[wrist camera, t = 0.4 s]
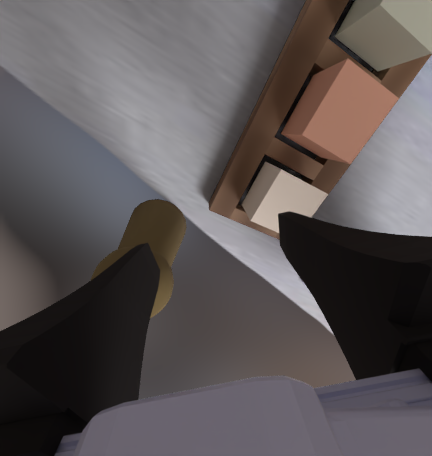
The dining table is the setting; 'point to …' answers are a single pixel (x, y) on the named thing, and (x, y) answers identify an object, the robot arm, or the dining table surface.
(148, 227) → the cork
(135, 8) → the dining table surface
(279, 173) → the cream button
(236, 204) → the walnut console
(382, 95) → the terracotta button
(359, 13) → the sage button
